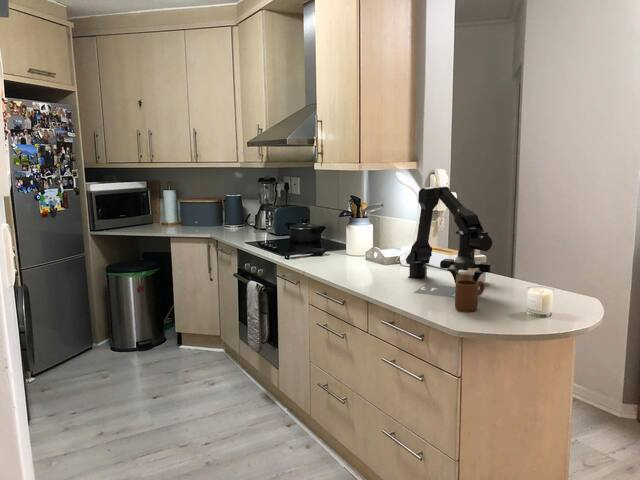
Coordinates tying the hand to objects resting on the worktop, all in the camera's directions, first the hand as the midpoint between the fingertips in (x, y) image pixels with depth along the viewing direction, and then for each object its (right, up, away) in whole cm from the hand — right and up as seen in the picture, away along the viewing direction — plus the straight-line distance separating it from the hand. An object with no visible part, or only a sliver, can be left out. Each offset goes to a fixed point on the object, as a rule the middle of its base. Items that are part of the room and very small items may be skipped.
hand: (465, 287), depth 199 cm
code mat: (-6, -2, +4) cm, 7 cm away
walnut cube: (0, -1, 0) cm, 1 cm away
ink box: (+8, 0, +16) cm, 18 cm away
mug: (-3, -6, -18) cm, 19 cm away
